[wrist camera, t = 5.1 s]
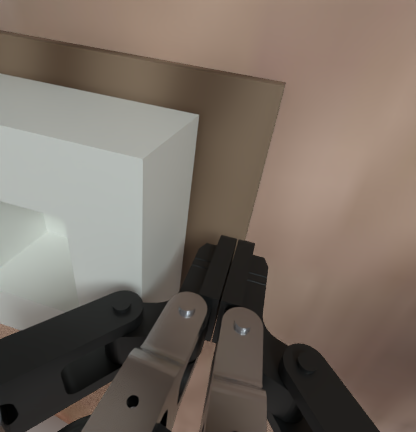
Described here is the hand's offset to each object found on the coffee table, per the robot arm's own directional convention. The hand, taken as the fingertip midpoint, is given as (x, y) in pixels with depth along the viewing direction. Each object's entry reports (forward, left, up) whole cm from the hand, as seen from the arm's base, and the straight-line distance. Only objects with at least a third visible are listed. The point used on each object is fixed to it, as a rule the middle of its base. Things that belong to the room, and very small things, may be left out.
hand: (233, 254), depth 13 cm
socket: (+8, 0, -1) cm, 8 cm away
